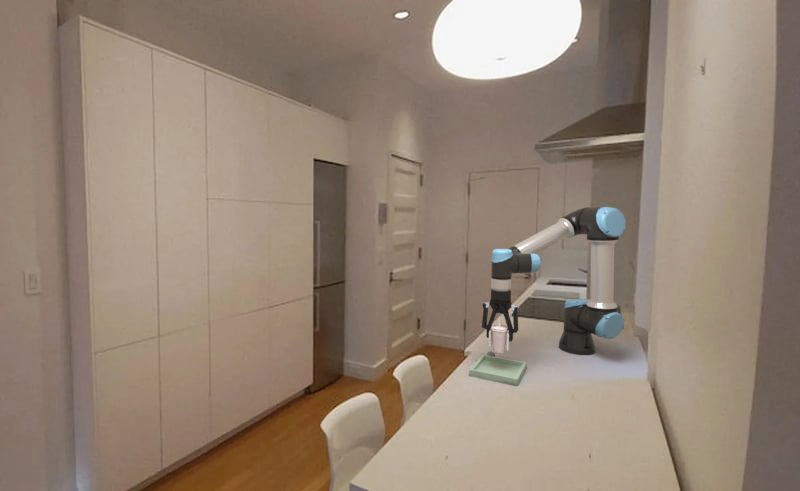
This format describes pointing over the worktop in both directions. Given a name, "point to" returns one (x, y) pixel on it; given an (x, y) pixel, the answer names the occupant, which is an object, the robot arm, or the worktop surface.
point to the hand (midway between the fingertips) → (499, 347)
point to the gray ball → (491, 353)
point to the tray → (498, 369)
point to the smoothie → (499, 337)
